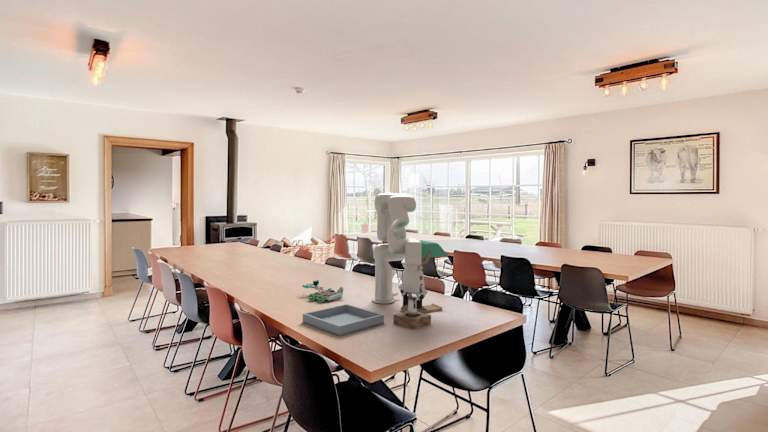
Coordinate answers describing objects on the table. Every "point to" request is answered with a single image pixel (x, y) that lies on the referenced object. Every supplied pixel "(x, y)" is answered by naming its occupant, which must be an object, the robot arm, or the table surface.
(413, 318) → the brown square hollow block
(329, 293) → the robot kit
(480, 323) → the table surface
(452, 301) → the table surface
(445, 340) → the table surface
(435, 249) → the banker's lamp
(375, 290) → the robot arm
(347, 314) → the tray
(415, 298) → the pin
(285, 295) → the table surface
